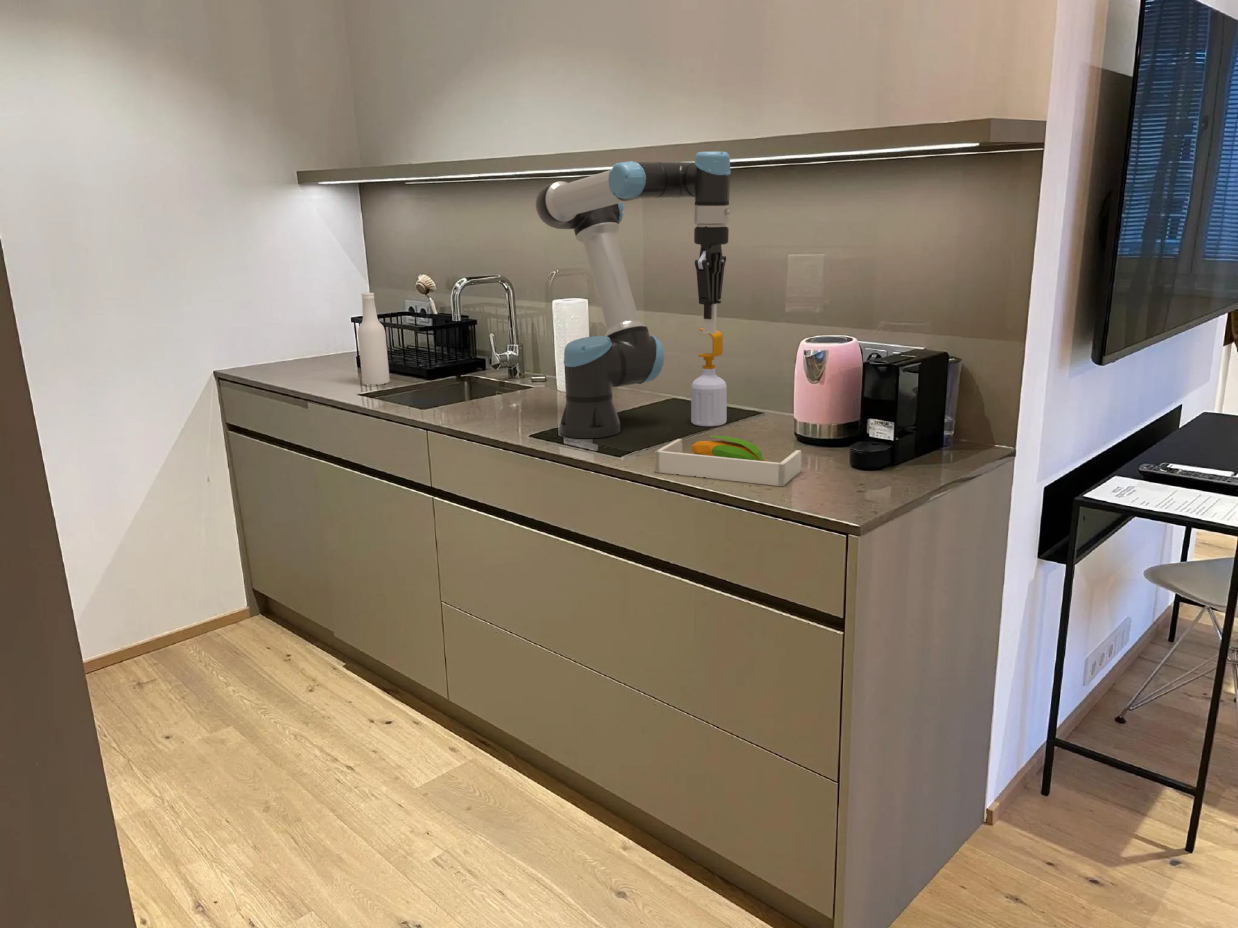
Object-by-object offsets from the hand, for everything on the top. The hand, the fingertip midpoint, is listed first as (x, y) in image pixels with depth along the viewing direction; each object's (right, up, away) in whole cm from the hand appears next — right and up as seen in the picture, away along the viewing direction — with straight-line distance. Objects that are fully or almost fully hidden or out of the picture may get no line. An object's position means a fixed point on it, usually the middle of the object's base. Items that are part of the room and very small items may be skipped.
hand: (709, 333), depth 211 cm
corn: (+2, -31, -14) cm, 34 cm away
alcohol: (-101, -3, +99) cm, 142 cm away
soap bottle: (+3, -19, +30) cm, 36 cm away
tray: (+2, -31, -15) cm, 35 cm away
